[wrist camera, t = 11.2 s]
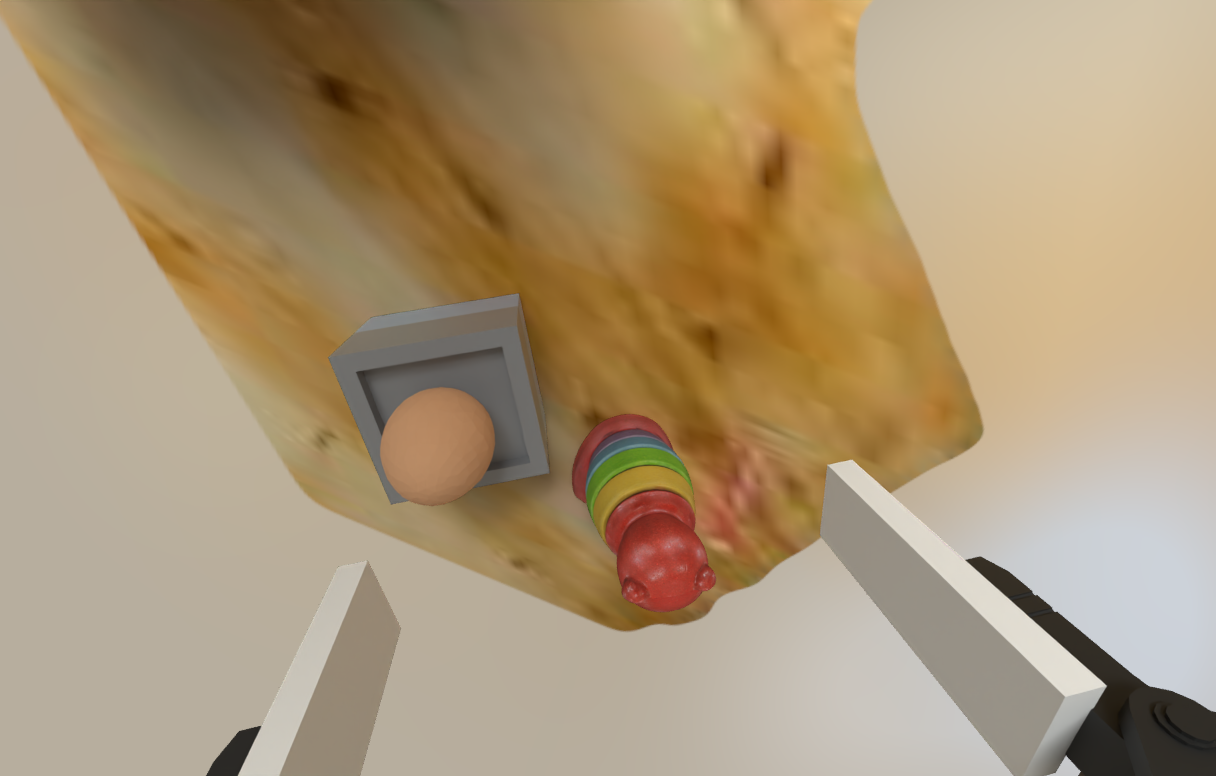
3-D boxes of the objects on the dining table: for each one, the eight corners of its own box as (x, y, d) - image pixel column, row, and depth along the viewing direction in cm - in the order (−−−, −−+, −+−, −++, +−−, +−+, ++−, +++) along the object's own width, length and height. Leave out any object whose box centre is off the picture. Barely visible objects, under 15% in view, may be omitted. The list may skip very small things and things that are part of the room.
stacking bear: (572, 499, 48) (594, 661, 32) (570, 414, 44) (595, 552, 28) (671, 490, 50) (739, 640, 34) (679, 407, 45) (761, 535, 30)
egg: (403, 451, 34) (365, 537, 26) (396, 366, 31) (351, 433, 23) (497, 452, 35) (489, 534, 27) (499, 370, 32) (489, 436, 24)
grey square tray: (371, 317, 37) (328, 357, 29) (519, 293, 38) (516, 325, 30) (416, 441, 42) (391, 504, 34) (545, 417, 43) (549, 473, 35)
